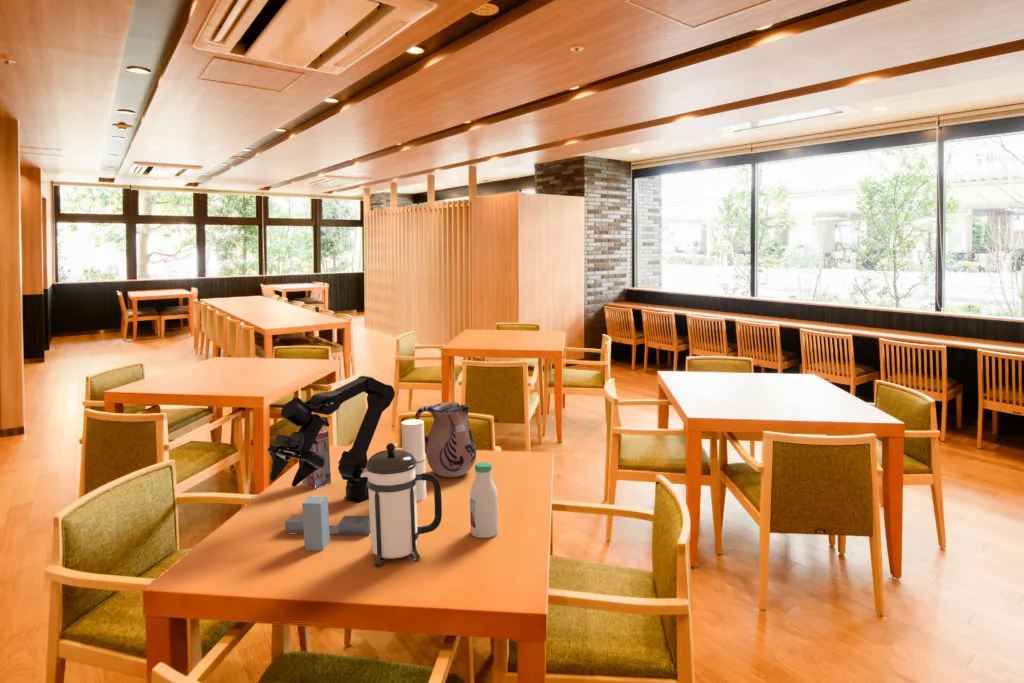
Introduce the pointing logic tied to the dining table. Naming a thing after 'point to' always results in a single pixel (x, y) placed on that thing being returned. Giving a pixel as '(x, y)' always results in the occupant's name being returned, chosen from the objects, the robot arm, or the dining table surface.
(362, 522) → the rail
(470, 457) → the ceramic pitcher
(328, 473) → the juice carton
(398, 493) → the coffee press
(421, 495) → the cylindrical container
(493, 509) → the milk bottle
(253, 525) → the dining table surface
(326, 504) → the peg
